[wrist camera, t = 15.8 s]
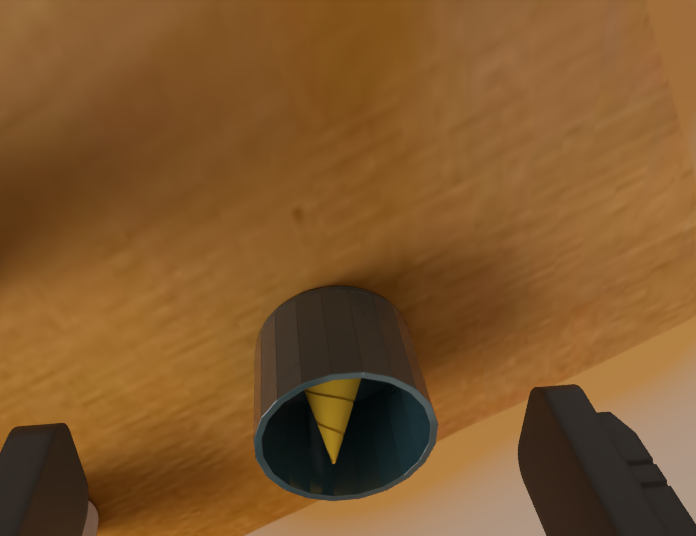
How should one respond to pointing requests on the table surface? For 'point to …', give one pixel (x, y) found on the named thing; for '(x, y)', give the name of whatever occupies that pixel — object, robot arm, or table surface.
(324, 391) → the spiral grooved cone
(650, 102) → the table surface
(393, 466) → the pen pot
